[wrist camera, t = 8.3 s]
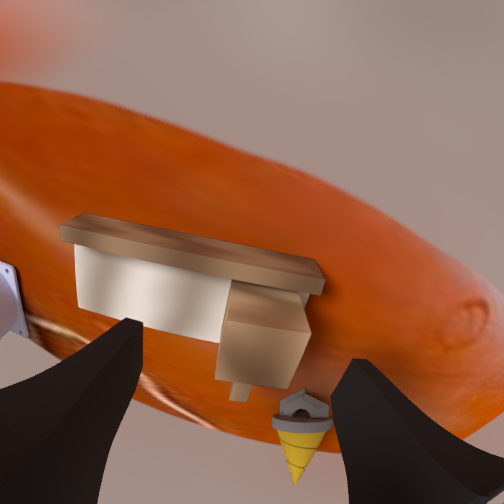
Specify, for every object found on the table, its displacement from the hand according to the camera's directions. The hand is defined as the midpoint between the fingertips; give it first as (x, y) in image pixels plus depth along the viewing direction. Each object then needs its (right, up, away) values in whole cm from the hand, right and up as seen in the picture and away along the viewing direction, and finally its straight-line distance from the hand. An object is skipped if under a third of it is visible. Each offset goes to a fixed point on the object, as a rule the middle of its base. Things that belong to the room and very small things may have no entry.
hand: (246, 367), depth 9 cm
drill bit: (+5, -11, +15) cm, 19 cm away
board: (-4, +2, +10) cm, 11 cm away
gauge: (0, -2, +10) cm, 10 cm away
